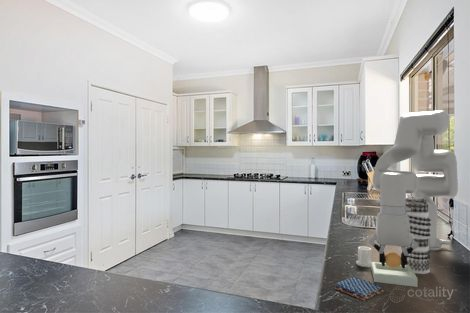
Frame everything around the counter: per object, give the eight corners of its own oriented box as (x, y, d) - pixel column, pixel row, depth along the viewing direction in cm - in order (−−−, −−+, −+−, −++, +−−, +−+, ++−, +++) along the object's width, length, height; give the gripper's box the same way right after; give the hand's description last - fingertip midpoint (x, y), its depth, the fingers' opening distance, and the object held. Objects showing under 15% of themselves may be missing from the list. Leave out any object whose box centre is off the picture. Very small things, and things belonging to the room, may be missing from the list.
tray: (409, 273, 107) (409, 265, 107) (417, 287, 95) (417, 278, 95) (371, 268, 111) (371, 261, 111) (374, 281, 99) (374, 273, 99)
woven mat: (332, 290, 94) (332, 283, 94) (353, 281, 101) (353, 275, 101) (364, 303, 86) (364, 295, 86) (385, 293, 92) (385, 286, 92)
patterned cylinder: (394, 266, 113) (394, 196, 113) (413, 263, 116) (413, 195, 116) (417, 275, 104) (417, 200, 104) (437, 272, 108) (437, 198, 108)
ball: (400, 266, 104) (400, 250, 104) (402, 271, 100) (402, 255, 100) (383, 264, 106) (383, 249, 106) (385, 269, 101) (385, 253, 101)
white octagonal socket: (372, 263, 117) (372, 246, 117) (373, 268, 111) (373, 251, 111) (356, 261, 119) (356, 245, 119) (356, 266, 113) (356, 249, 113)
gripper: (420, 210, 104) (420, 265, 104) (363, 207, 109) (364, 259, 109) (425, 213, 97) (425, 273, 97) (365, 210, 102) (365, 266, 102)
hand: (392, 265), depth 103 cm, fingers open, 5 cm apart
